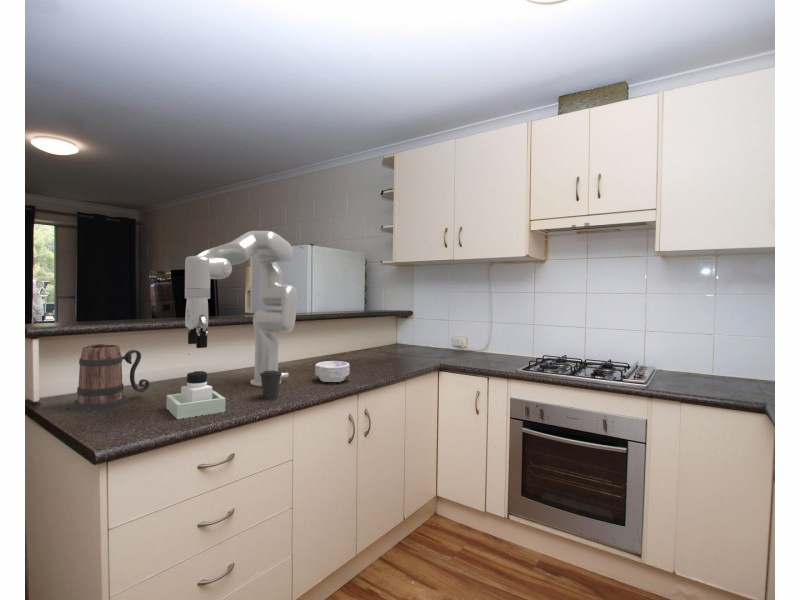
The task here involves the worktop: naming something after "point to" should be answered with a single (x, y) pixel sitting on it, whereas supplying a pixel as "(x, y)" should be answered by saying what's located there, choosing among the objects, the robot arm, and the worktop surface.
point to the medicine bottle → (196, 388)
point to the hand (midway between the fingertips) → (197, 345)
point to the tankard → (104, 378)
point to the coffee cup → (270, 384)
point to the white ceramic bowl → (332, 371)
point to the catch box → (195, 406)
